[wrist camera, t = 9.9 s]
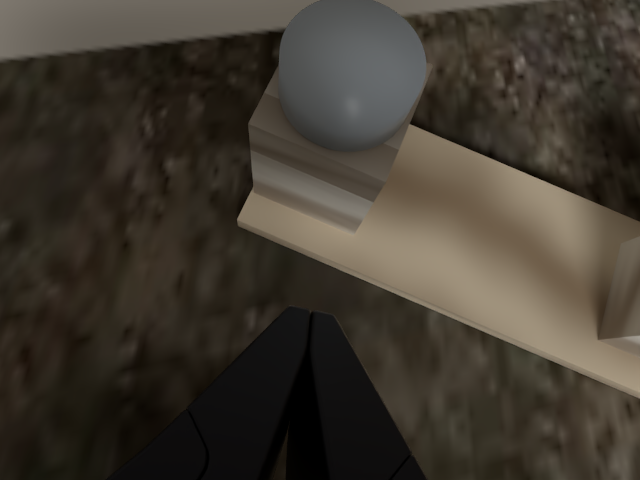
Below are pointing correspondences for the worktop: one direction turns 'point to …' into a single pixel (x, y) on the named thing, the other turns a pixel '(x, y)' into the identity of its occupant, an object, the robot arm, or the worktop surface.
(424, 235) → the stand
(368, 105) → the slate key
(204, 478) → the robot arm
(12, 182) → the worktop surface
